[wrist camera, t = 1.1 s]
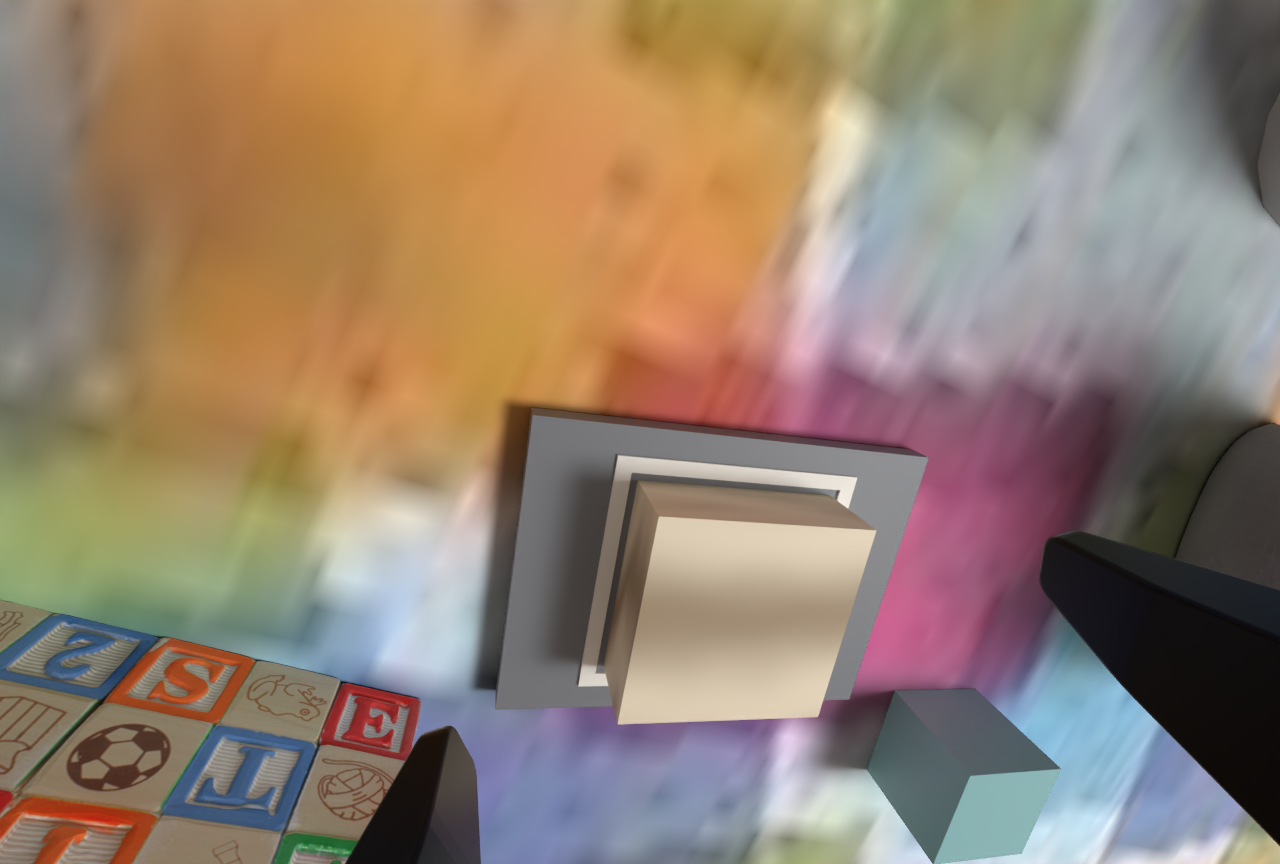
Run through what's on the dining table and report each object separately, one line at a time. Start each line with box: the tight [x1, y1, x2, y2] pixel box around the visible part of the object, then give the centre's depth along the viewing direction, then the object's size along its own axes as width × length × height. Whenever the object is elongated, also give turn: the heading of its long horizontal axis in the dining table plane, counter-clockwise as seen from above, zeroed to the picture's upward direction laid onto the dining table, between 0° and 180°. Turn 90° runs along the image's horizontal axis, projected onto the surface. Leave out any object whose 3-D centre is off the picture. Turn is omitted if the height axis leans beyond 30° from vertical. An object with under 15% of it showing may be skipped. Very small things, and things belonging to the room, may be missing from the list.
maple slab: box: [604, 480, 877, 724], centre depth 21 cm, size 8×8×3 cm
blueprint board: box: [495, 407, 928, 710], centre depth 23 cm, size 12×16×1 cm
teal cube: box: [867, 689, 1061, 864], centre depth 27 cm, size 5×5×5 cm
